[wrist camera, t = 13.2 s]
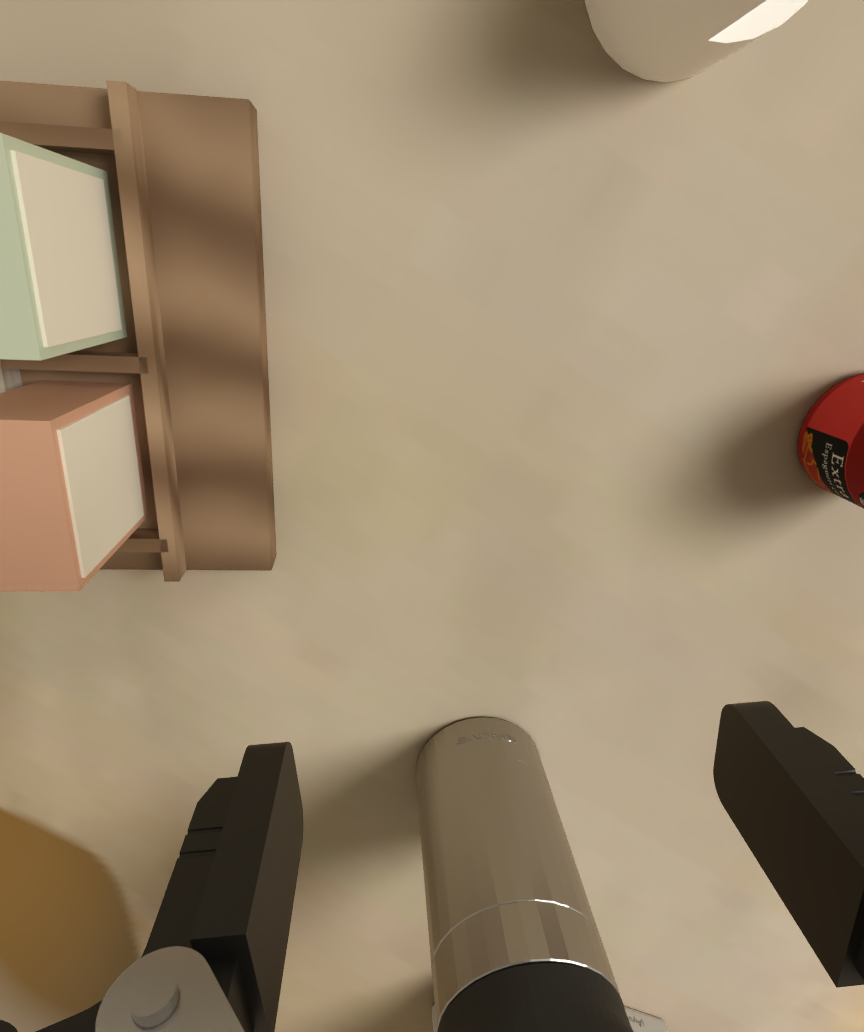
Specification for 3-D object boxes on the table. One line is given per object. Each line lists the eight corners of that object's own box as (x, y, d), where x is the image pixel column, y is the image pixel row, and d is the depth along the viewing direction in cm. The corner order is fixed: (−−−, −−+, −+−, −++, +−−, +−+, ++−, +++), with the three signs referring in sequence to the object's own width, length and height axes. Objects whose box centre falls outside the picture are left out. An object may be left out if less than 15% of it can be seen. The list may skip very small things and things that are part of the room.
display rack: (276, 556, 40) (266, 582, 36) (57, 554, 38) (27, 581, 35) (256, 109, 31) (241, 90, 28) (-27, 88, 30) (-78, 65, 26)
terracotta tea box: (151, 516, 36) (82, 591, 28) (61, 514, 35) (-36, 590, 27) (134, 383, 33) (53, 421, 25) (38, 379, 33) (-78, 417, 24)
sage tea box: (1, 164, 29) (-148, 123, 21) (110, 171, 30) (6, 133, 21) (31, 333, 32) (-92, 355, 24) (130, 336, 32) (44, 360, 24)
